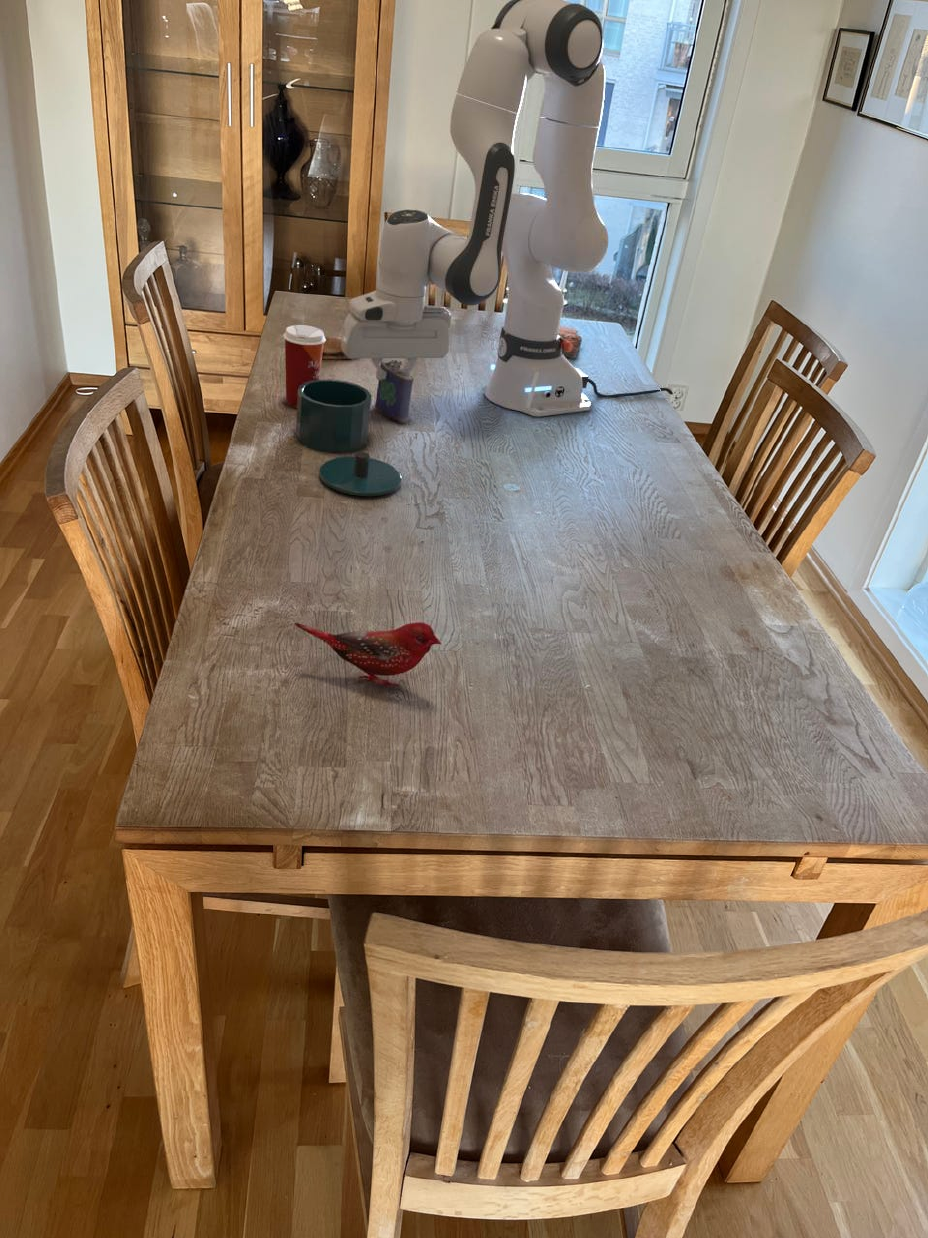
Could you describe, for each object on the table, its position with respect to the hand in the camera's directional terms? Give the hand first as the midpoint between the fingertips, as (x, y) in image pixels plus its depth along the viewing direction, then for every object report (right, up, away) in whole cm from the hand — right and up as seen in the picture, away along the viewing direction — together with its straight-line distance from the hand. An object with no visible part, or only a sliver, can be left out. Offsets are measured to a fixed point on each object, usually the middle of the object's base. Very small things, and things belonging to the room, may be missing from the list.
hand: (392, 379), depth 185 cm
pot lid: (-4, -22, -22) cm, 31 cm away
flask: (-1, -6, +3) cm, 7 cm away
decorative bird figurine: (+1, -53, -66) cm, 85 cm away
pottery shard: (+35, +21, +53) cm, 67 cm away
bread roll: (-15, +12, +27) cm, 34 cm away
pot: (-10, -13, -9) cm, 19 cm away
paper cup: (-18, -4, +2) cm, 18 cm away
